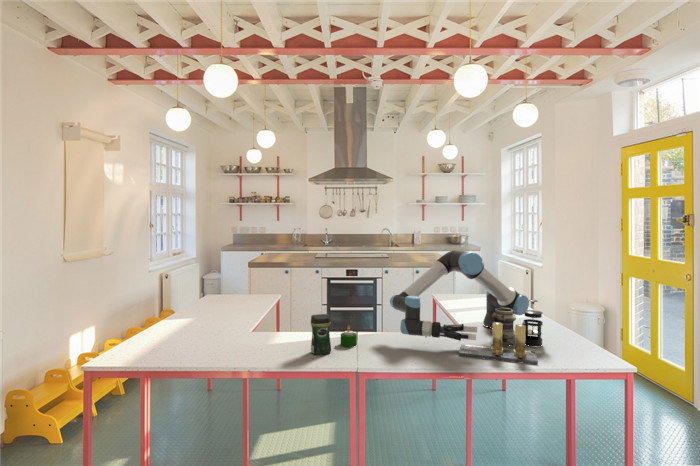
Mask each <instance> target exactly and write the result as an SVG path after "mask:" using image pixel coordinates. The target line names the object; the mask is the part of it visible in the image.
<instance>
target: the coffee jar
mask: <svg viewBox="0 0 700 466" xmlns="http://www.w3.org/2000/svg"><path fill="white" fill-rule="evenodd" d="M310 317H311V318H310V326H311V345H310V352H311V354H312V355H315V356H316V355H317V356H321V355H328V354H330V353H332V346H331V345H332V344H331V335H330V334H331V333H330V326H331V324H332V322H331V316H330V315H329V313H322V314H320V313H319V314H312V315H311V316H310Z"/></svg>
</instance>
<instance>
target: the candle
mask: <svg viewBox="0 0 700 466" xmlns="http://www.w3.org/2000/svg"><path fill="white" fill-rule="evenodd" d="M346 327H347V328H346V329H347V330H345V331H344V332H341V333H340V346H341V347H343V348H355V347H356V345H357V343H358V341H357V340H358V335H357V333H356V332H354V331H353V330H351V325H347V326H346ZM354 346H355V347H354Z"/></svg>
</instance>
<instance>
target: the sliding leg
mask: <svg viewBox="0 0 700 466" xmlns="http://www.w3.org/2000/svg"><path fill="white" fill-rule="evenodd" d="M502 329H503V324H502V323H499V322H494V323H493V335H492V338H491V340H492V342H491V343H492V344H491V345H492V346H491V347H492V353H496V355H498V354H503V348H504V347H503V346H502Z"/></svg>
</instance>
